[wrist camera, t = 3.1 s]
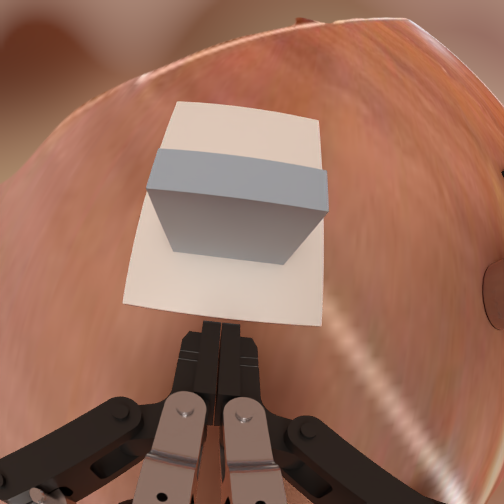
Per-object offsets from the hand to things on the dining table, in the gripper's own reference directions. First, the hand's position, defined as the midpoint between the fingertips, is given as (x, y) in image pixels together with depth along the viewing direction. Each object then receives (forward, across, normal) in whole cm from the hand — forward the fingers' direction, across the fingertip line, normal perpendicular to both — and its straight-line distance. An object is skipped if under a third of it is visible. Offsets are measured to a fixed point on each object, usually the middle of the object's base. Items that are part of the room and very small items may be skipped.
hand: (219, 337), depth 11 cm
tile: (+12, 0, +1) cm, 12 cm away
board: (+16, 0, -2) cm, 16 cm away
